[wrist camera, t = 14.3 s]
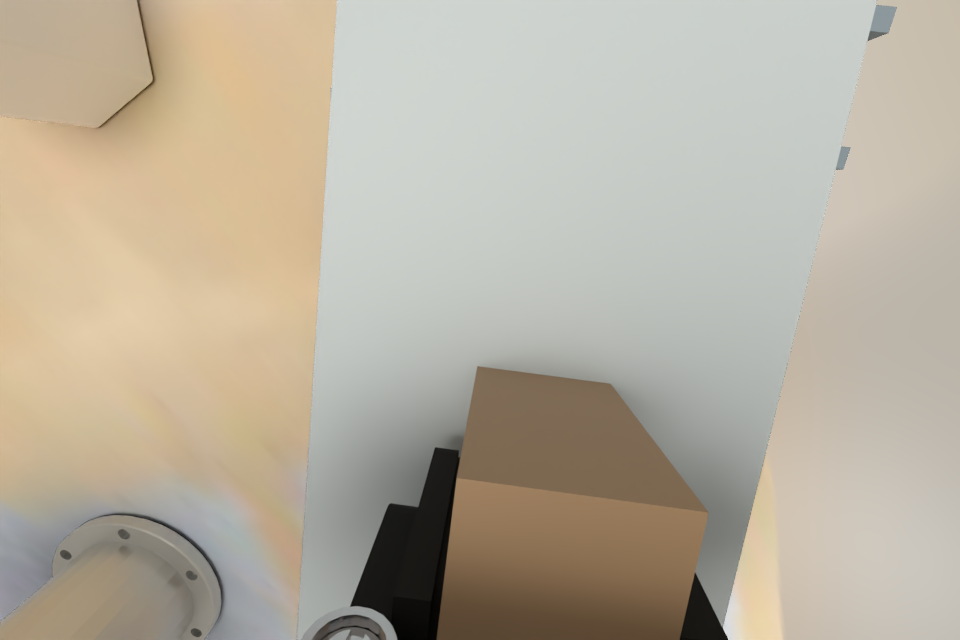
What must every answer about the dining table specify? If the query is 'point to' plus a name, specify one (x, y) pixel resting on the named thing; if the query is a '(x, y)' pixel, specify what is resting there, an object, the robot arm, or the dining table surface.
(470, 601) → the lid
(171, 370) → the dining table surface
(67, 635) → the robot arm
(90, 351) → the dining table surface
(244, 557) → the dining table surface
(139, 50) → the jar
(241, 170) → the dining table surface
